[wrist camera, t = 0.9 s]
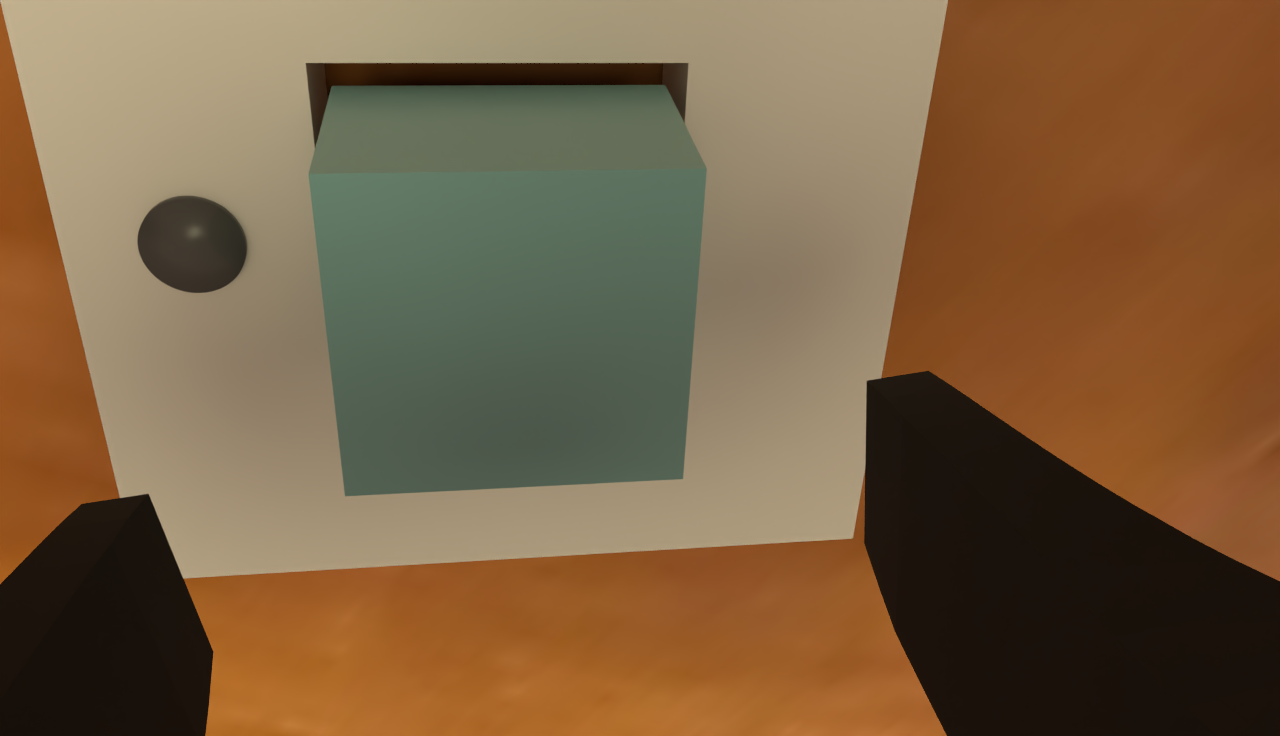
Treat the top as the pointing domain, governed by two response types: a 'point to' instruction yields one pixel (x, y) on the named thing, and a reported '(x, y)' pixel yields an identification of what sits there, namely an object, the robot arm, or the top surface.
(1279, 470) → the top surface
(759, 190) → the button panel
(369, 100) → the button one
